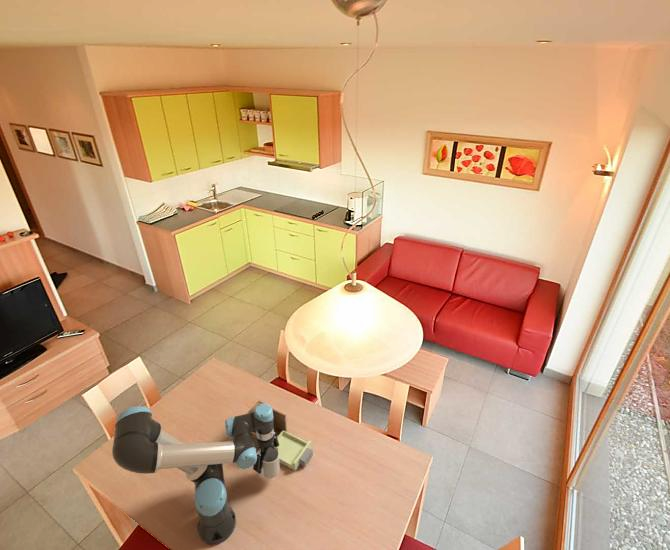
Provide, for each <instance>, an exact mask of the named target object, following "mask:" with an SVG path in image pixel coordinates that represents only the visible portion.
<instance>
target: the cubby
mask: <svg viewBox="0 0 670 550" xmlns="http://www.w3.org/2000/svg"><path fill="white" fill-rule="evenodd" d="M263 403H264V402H262V401H261V400H258V401H257V402H256V403H255V404H254V405H253V406H252V407H251V408H250V409H249V410H248V412H247V413H246V414H248V413H251V412H254V411H255V408H256V407H257V406H258V405H259V404H263ZM272 410H273V416H274V417H273V425H274V432H275V433H277V437H278V436H279V434H280V433H281V432H282V431H283V430H284V431H286V432H288V429H287V428H288V427H287V417H286V414H284V413H283V412H280V411H278V410H276V409H274V408H272ZM252 437H253V441H254V445H255V449H256V452H257V451H258V447H259V445H258V444H257V438H256V431H253V432H252Z"/></svg>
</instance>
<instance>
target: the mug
mask: <svg viewBox="0 0 670 550" xmlns="http://www.w3.org/2000/svg"><path fill="white" fill-rule="evenodd" d="M280 465H281V464H280V462H279V451H278V450H277V448H275V447H274V449H273V448H271V447H269V449H268V450H267V453H266V455H265V457H264V461H263V465H262V467H263V471H264V477H263V478H265V479H274V478H275V477H277V476H278V475H279V473H280V468H281V466H280Z"/></svg>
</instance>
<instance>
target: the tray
mask: <svg viewBox="0 0 670 550" xmlns="http://www.w3.org/2000/svg"><path fill="white" fill-rule="evenodd" d="M277 438H278V442H279V446H278V447H277V448H278V451H279V464H282V465H284V466H286V467H287V468H289V469H291V470H293V471H297V470H298V468H299V467H300V465H301V466H302V467H304V468H306V466H307V465H308V464H309V462H310V460H311V459H312V458H313V455H314V452H313V449H312V441H311V440H308V441H306V440H304V439H302V438H300V437H298V436H297V435H296V436H295V435H294V434H292V433H290V432H288V431H287V432H286V431H284V430H283V431H282V432H281V433H280V434H279V436H278V437H277Z"/></svg>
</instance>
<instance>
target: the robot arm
mask: <svg viewBox="0 0 670 550" xmlns="http://www.w3.org/2000/svg"><path fill="white" fill-rule="evenodd" d="M262 403H263V404H259V405H258V406H257V407H256V408H255V411H254V412H251V413H248V412H247V413H248V414H247V413H244V414H240V415H235V416H232V417H229V418H227V419H225V421H224V426H225V432H226V433H225V434H226V438H228V439H232V440H230V441H213V442H196V443H184V442H182V441H180V439H177V438H176V437H174V436H173V435H171V434H169V433H167V432H166V431H164V430H163V429H162V425H161V423H160V422H158V421H157V420H155V419H154V418H153V417H152V416H153V414H152V411H151V410H150V408H148V407H147V406H142V405H141V406H140V405H136V406H131V407H129V408H126V409H124V410H123V411H121V412H120V413H119V414H118V415H117V418H116V422H115V423H114V436H113V444H112V448H111V449H112V450H111V451H112V453H111V454H112V458H113V460H114V462H115V463H116V464H117V466H119V467H120V468H121V469H124V470H125V471H127V472H131V473H135V474H142V475H143V474H144V475H145V474H146V475H147V474H148V475H149V474H155V473H157V472H158V471H159V470H165V469H166V470H167V469H178V470H179V471H181V472H183V473H184V474H185V477H186V479H187V480H188V481H190V482H192V483H194V488H195V489H194V492H195V493H194V505H195V509H196V510H197V514H198V517H199V520H198V523H197V530H198V531H197V532H198V535H199V538H200V539H201V541H202V542H204V543H205V544H208V545H211V546H212V545H219V544H221V543H223V542H225V541H226V540H228V539H229V538H230V536H231V535H232V533H233V532H234V531H235V528H236V524H237V517H236V513H235V511H234V509H233V508H232V507H231V506H230V505H229V501H228V495H227V489H226V482H225V475H224V467H223V464H235V463H236V465H237V467H238V469H242V470H247V469H249V468H252V470H254V471H255V472H256V473H257V475H258V476H260V477H261V478H262V479H263V478H265V477H264V471H263V467H262V465H263V461H264V457H265V455H266V453H267V450H268V449H269V447H271V448H273V449H274V447H275V448H277V447H278V446H279V442H278V438H277V433H275V432H274V425H273V417H274V416H273V410H272V409H273V408H272V406H271V405H270V404H268V403H264V402H262ZM253 431H256V438H257V444H258V445H259V447H258V451H257V452H256V449H255V445H254V441H253V437H252V432H253ZM277 450H278V448H277Z"/></svg>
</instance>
